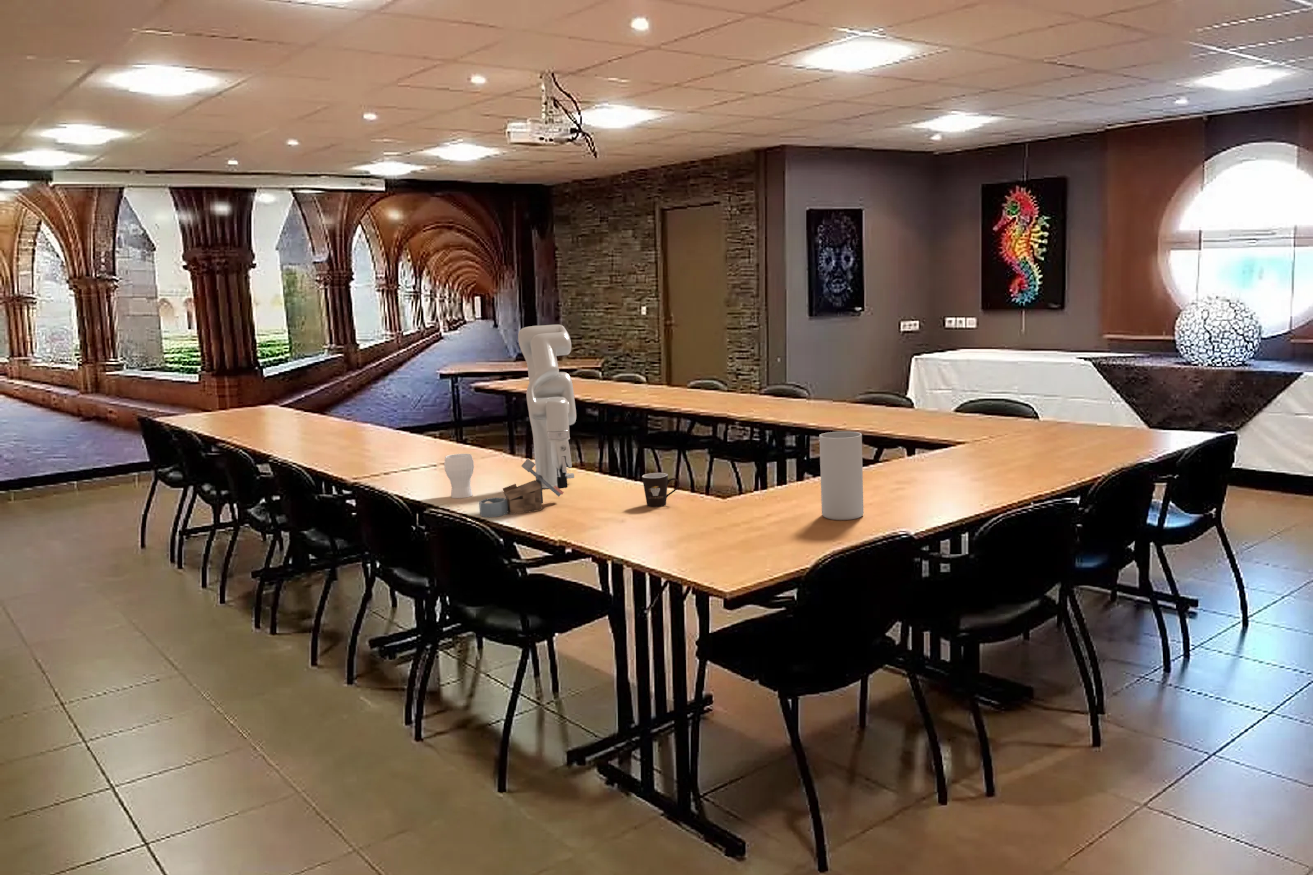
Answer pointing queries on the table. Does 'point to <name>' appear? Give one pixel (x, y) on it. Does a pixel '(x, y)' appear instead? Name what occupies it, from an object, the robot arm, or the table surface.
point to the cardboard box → (524, 497)
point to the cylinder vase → (841, 475)
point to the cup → (459, 474)
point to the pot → (493, 507)
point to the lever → (540, 477)
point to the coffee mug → (657, 488)
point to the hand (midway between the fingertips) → (562, 487)
